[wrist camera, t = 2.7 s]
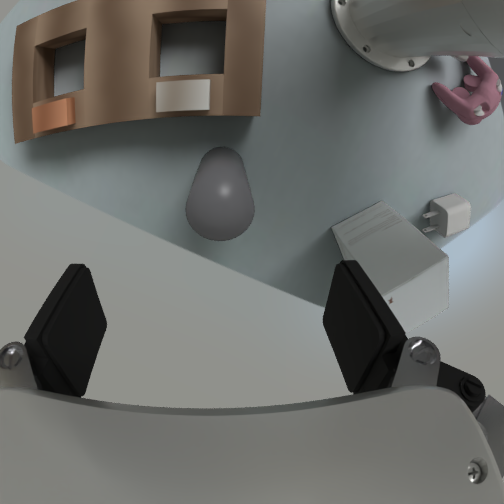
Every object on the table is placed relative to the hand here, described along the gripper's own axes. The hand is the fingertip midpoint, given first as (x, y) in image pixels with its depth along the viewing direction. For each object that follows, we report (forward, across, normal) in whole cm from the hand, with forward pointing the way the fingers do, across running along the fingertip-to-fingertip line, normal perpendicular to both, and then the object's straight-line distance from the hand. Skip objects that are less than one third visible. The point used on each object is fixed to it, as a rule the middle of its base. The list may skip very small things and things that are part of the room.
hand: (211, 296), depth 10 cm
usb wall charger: (+19, -28, +3) cm, 34 cm away
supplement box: (+19, -18, +8) cm, 27 cm away
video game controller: (+19, -28, -14) cm, 37 cm away
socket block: (+19, +8, -12) cm, 24 cm away
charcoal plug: (+19, 0, 0) cm, 19 cm away
